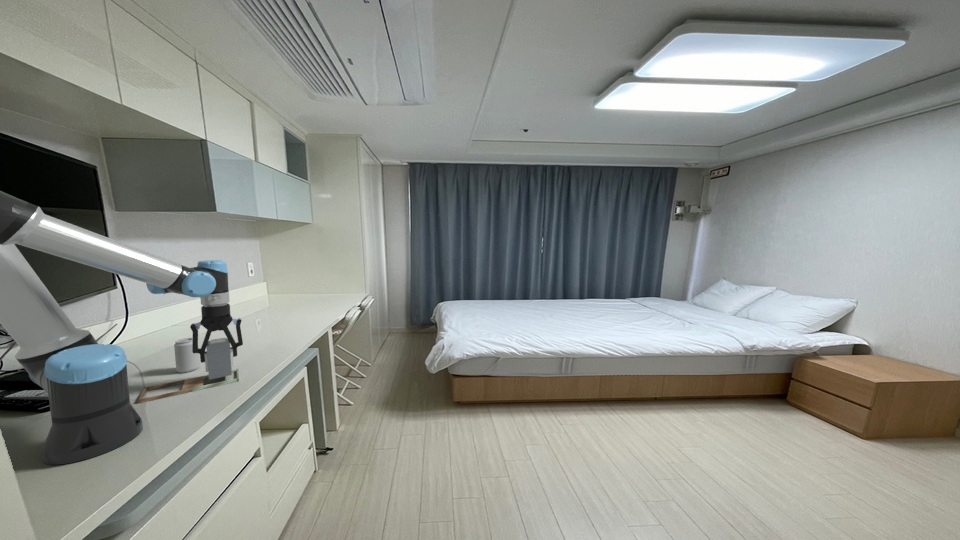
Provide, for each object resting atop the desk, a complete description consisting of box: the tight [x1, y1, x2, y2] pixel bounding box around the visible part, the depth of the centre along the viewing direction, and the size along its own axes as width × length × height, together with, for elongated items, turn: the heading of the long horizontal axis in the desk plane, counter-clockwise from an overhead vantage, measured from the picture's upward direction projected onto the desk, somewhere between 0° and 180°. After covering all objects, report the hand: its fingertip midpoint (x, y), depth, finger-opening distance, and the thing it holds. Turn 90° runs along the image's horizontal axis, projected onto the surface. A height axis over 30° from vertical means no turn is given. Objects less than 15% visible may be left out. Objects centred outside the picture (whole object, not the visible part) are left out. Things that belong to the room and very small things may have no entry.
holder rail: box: [137, 368, 240, 404], centre depth 102 cm, size 24×10×1 cm, turn 130°
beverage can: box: [173, 337, 200, 374], centre depth 114 cm, size 6×6×12 cm
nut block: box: [206, 337, 233, 380], centre depth 106 cm, size 6×6×13 cm
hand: (220, 367), depth 106 cm, fingers closed on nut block, 6 cm apart
